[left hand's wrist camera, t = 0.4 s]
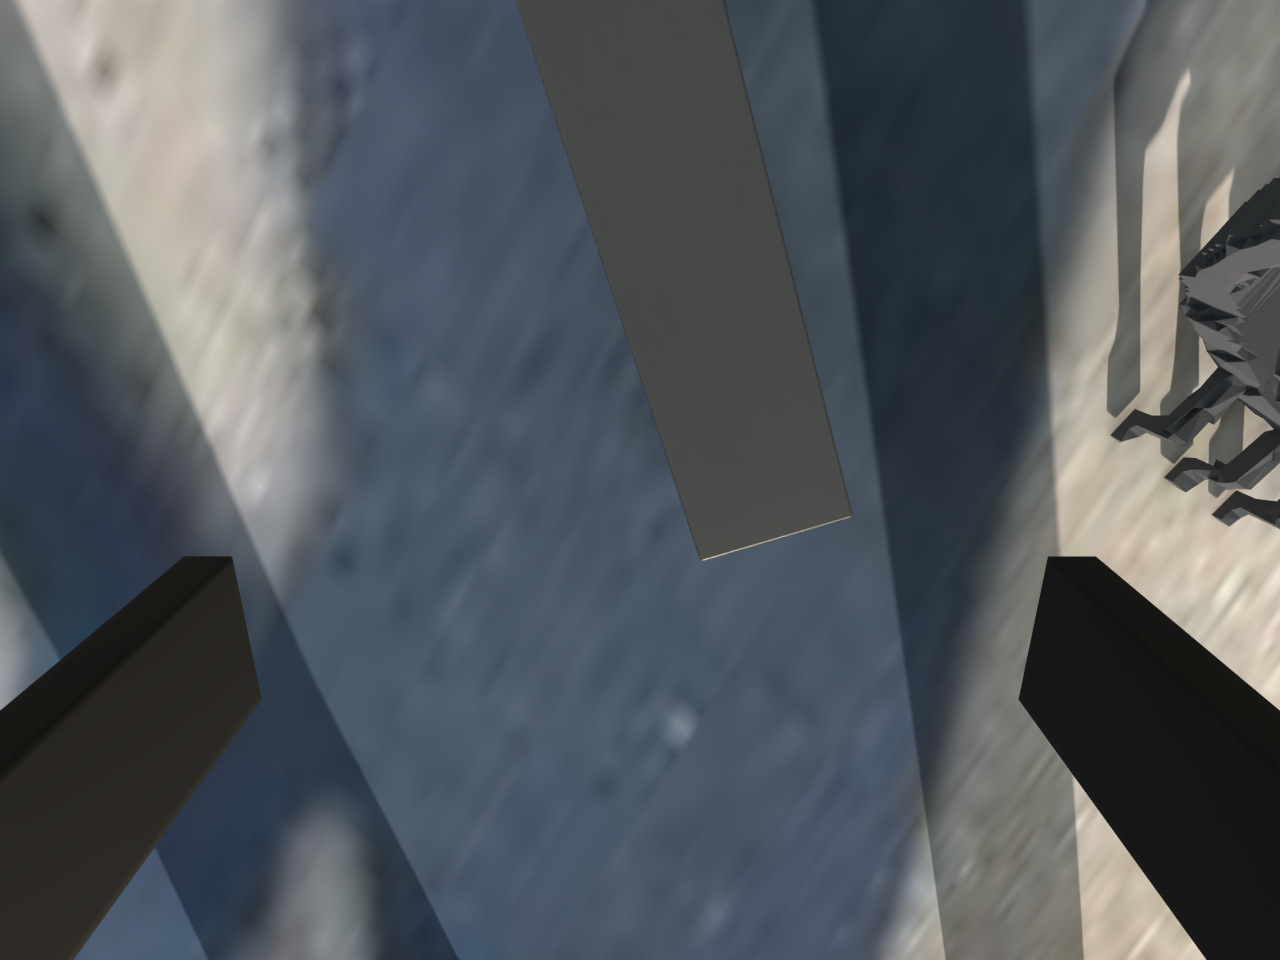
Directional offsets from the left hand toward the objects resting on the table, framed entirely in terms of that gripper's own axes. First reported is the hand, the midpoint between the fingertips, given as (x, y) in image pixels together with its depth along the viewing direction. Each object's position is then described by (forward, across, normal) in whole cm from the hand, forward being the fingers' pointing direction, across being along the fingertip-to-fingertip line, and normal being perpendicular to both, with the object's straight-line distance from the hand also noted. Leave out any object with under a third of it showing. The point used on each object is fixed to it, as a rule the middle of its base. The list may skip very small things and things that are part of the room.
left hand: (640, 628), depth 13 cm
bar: (+22, -1, -6) cm, 23 cm away
